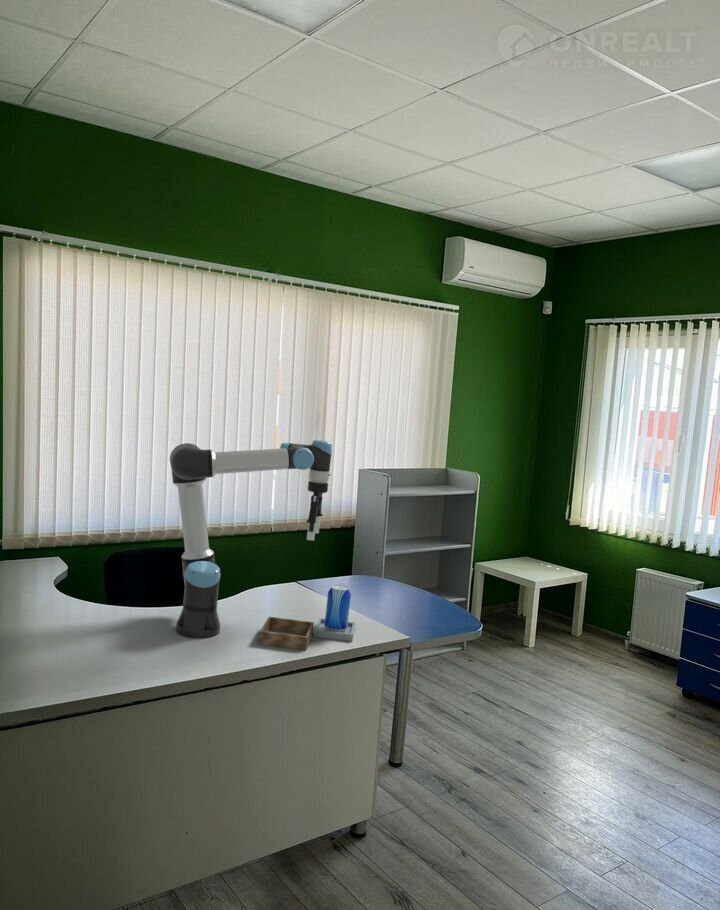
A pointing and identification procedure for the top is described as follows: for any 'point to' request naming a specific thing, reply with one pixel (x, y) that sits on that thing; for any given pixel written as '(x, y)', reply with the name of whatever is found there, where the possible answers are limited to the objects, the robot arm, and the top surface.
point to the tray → (324, 633)
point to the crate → (286, 639)
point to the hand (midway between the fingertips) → (312, 536)
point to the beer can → (337, 608)
